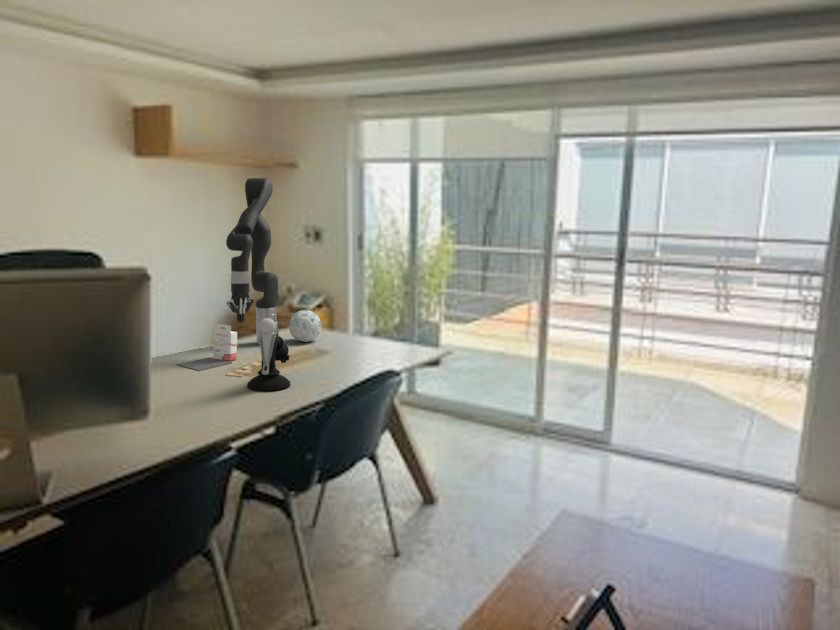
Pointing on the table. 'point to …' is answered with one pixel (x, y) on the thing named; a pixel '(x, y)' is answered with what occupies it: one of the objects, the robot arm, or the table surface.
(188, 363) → the rubber mat
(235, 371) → the beech turner
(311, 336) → the puzzle ball
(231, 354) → the ink cartridge box
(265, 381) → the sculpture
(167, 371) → the table surface
